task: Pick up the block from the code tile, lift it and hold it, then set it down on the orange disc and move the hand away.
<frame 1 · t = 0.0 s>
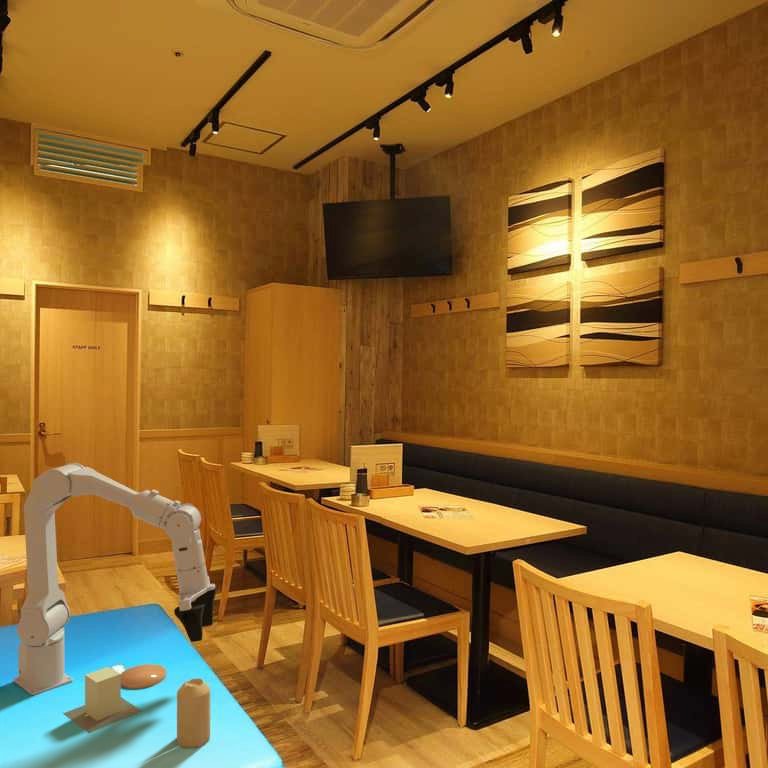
hand: (202, 633, 135), 11 cm above the table, tool pointing down, fingers open, 7 cm apart
block: (102, 711, 124), resting on code tile
code tile: (102, 713, 124), on the table
candle: (193, 740, 115), on the table
orange disc: (142, 678, 137), on the table
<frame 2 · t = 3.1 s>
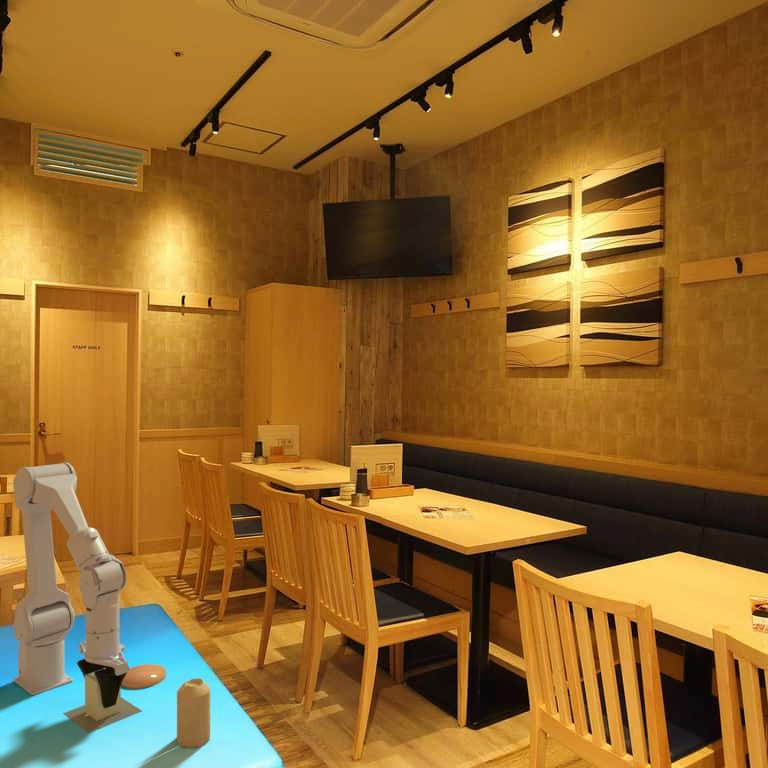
hand: (102, 701, 124), 2 cm above the table, tool pointing down, fingers closed on block, 4 cm apart
block: (102, 711, 124), resting on code tile, touching gripper
everything else where it was.
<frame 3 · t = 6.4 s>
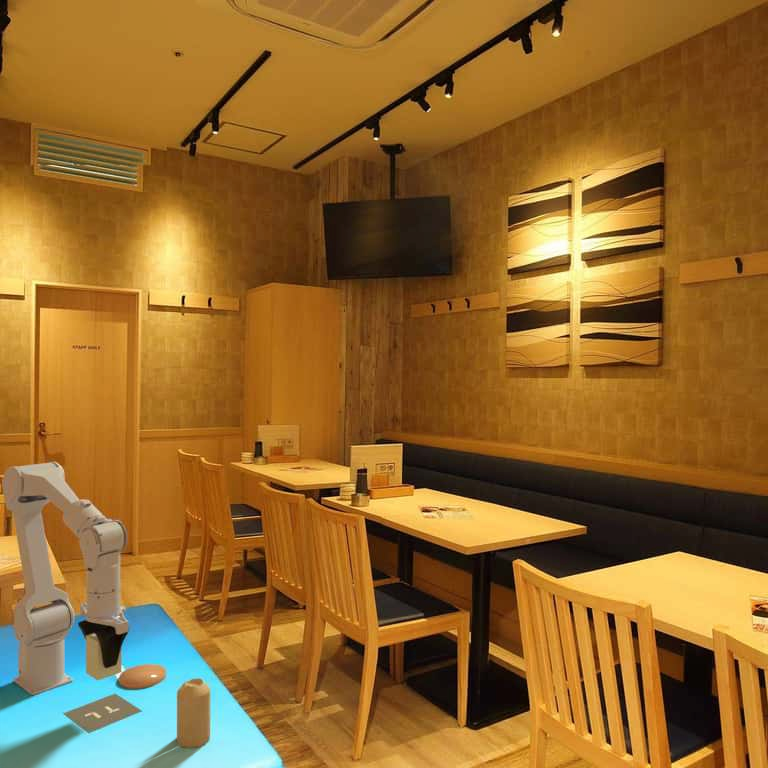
hand: (103, 661, 124), 9 cm above the table, tool pointing down, fingers closed on block, 4 cm apart
block: (103, 672, 124), point 7 cm above the table, touching gripper
everything else where it was.
when the fingers open (4 cm above the table, at t = 9.7 s): block drops 1 cm, resting on orange disc.
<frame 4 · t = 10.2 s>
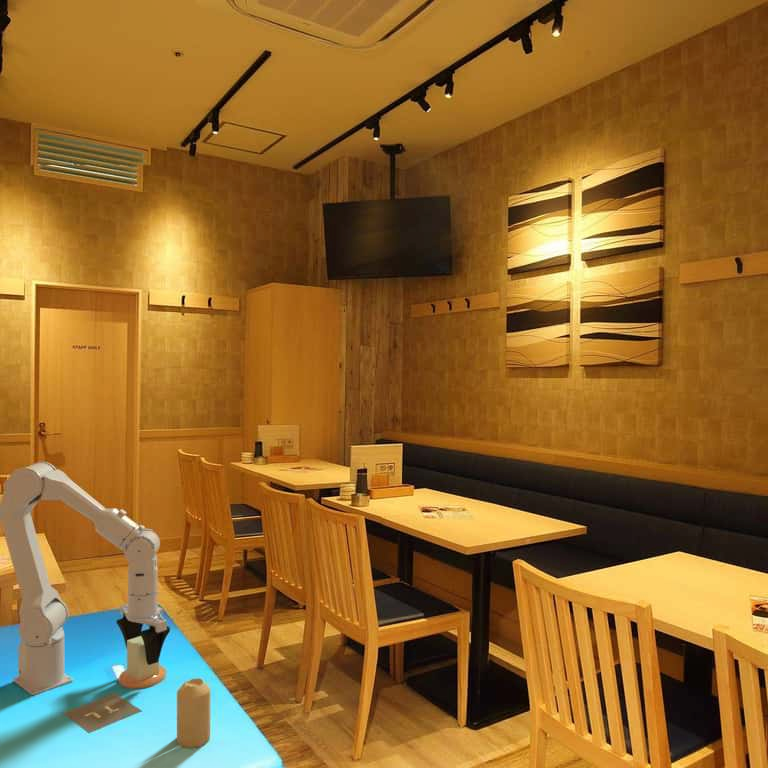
hand: (142, 657, 137), 4 cm above the table, tool pointing down, fingers open, 7 cm apart
block: (142, 673, 137), point 1 cm above the table, touching orange disc
everything else where it was.
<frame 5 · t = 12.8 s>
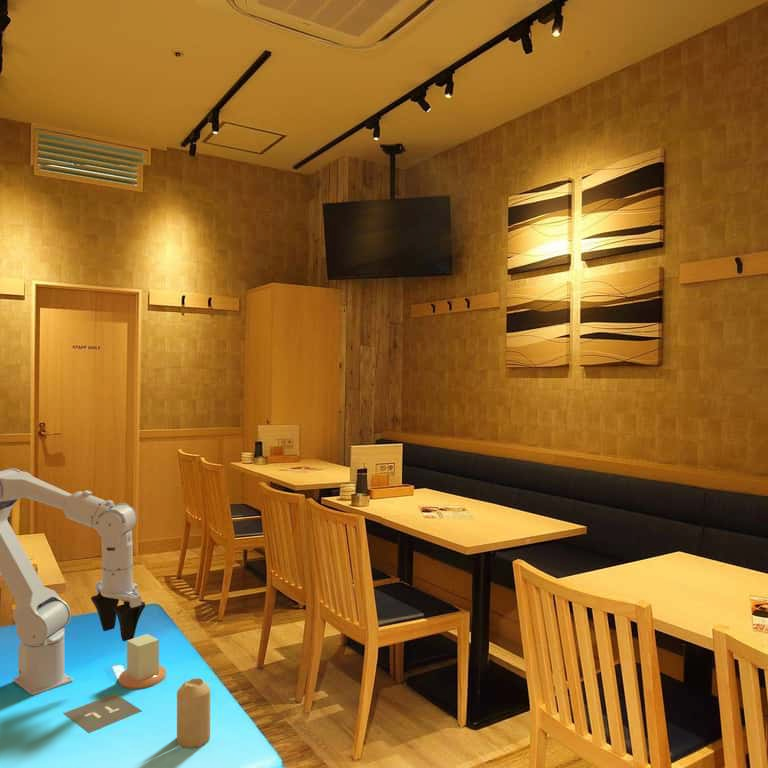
hand: (118, 634, 134), 10 cm above the table, tool pointing down, fingers open, 7 cm apart
nothing on the table moved.
at the end: block 0.0 cm from the orange disc (horizontally); block tilted 0°; block touching orange disc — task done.
